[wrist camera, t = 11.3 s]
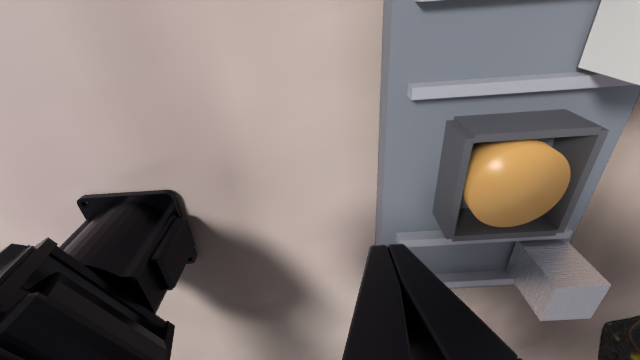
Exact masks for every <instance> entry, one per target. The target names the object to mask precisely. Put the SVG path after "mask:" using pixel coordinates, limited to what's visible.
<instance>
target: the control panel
mask: <svg viewBox="0 0 640 360" xmlns="http://www.w3.org/2000/svg"><path fill="white" fill-rule="evenodd" d="M600 3H601V0H384V7H383V36H382V65H381V93H380V122H379V151H378V179H377V208H376V237H375V245H383V244H384V245H386V246H387V245H389V244H404V245H405V246H406V247H407V248H408V249H409V250H410V251H411V252H412V253H414V254H415V255H416V256H417V257H418V258H419V259H420V260H421V261H422V262H423V263H424V264H425V265H426V266H427V267H428V268H429V269H430V270H431V271H432V272H433V273H434V274H435V275H436V276H437V277H438V278H439V279H440V280H441V281H442V282H443V283H444V284H445V285H446V286H447V287H448V288H449V289H450V288H469V287H487V286H506V285H515V283H514V282H513V280H512V279H511V277H510V276H509V274H508V273H507V271H506V269H507V266H508V263H509V260H510V257H511V254H512V252H513V249H514V246H515V243H516V241H526V240H544V239H561V238H565V239H566V240H567V241H568V242H569V243H570V242H571V239H572V237H573V235H574V233H575V231H576V229H577V227H578V224H579V222H580V220H581V218H582V216H583V214H584V212H585V210H586V207H587V205H588V203H589V201H590V199H591V197H592V195H593V193H594V190H595V188H596V186H597V184H598V182H599V180H600V178H601V175H602V173H603V171H604V169H605V167H606V165H607V163H608V161H609V158H610V156H611V154H612V152H613V150H614V148H615V146H616V143H617V141H618V139H619V137H620V135H621V133H622V131H623V129H624V126H625V124H626V122H627V120H628V118H629V116H630V114H631V112H632V109H633V107H634V105H635V103H636V101H637V99H638V97H639V94H640V85H637V84H633V83H630V82H627V81H623V80H620V79H616V78H613V77H609V76H606V75H603V74H599V73H596V72H592V71H589V70H585V69H582V68H579V67H578V66H579V63H580V60H581V57H582V54H583V51H584V48H585V46H586V43H587V40H588V37H589V34H590V31H591V28H592V26H593V23H594V20H595V17H596V14H597V11H598V8H599V6H600ZM526 139H540V140H542V141H543V142H545V143H546V144H548V145H549V146H551V147H552V148H554V149H555V150H557V151H558V152H560V153H561V154H562V155H563V156H564V157H565V158H566V160H567V161H568V163H569V166H570V181H569V184H568V187H567V189H566V191H565V193H564V195H563V196H562V198H561V199H560V200H559V201H558V203H557V204H556V205H555V206H554V207H552V208H551V209H550V210H549V211H548V212H546V213H545V214H543V215H542V216H540V217H538V218H537V219H535V220H533V221H530V222H528V223H525V224H522V225H518V226H513V227H495V226H490V225H487V224H485V223H483V222H481V221H480V220H478V219H477V218H476V217H475V216H474V214H473V213H472V211H471V210H470V209H469V207H468V206H467V204H466V203H465V201H464V200H463V199H462V195H463V190H464V185H465V180H466V176H467V171H468V166H469V161H470V156H471V151H472V147H473V145H474V144H476V143H480V142H495V141H510V140H526Z"/></svg>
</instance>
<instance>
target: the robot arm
mask: <svg viewBox="0 0 640 360" xmlns="http://www.w3.org/2000/svg"><path fill="white" fill-rule="evenodd" d="M164 196H165V197H168V198H169V199H166V198H165V197H164ZM86 202H87V203H88V204H87V203H86ZM77 205H78V207H79V208H80V210H81V212H82V213H83V215H84V217H85V219H86V221H85V222H84V223H83V224H82V225H81V226H80V227H79V228H78V229H77V230H76V231H75V232H74V233H73V234H72V235H71V236H70V237H69V238H68V239H67V240H66V241H65V242H64V243H63V244H62V245H61V246H60V247H58V246H57V243H55V242H54V241H52V240H51V239H50V238H46V239H45V240H43V241H42V242H40V243H39V244H37V245H36V246H30V245H28V246H24V245H18V244H10V245H9V246H7V247H6V248H5V249H3V250H2V251H1V252H0V360H170V356H171V349H172V342H173V336H174V329H175V326H174V325H173V324H172V323H170V322H169V321H164V320H163V319H161V318H160V317H159V316H157V315H156V312H157V310H158V308H159V306H160V304H161V302H162V300H163V298H164V296H165V294H166V292H167V290H172V289H173V288H174V287H175V286H176V284H177V282H178V280H179V277H180V275H181V273H182V271H183V269H184V267H185V265H186V264H191V263H194V262H195V260H196V258H197V253H196V250H195V248H194V246H195V243H194V241H193V238H192V235H191V233H190V230H189V227H188V224H187V222H186V219H185V218H184V217H183V216H182V213H181V210H180V208H179V205H178V202H177V199H176V197H175V195H174V193H173V192H171V191H169V190H159V191H143V192H127V193H111V194H95V195H84V196H82V197H81V198H80V199H79V200H77ZM342 360H522V359H521V358H518V359H517V354H516V353H515V352H514V351H513V350H512V349H511V348H510V347H509V346H508V345H506V344H505V343H504V342H503V341H502V340H501V339H500V338H499V337H498V336H497V335H496V334H495V333H494V332H493V331H492V330H491V329H490V328H489V327H488V326H487V325H486V324H485V323H484V322H483V321H482V320H481V319H480V318H479V317H478V316H477V315H476V314H475V313H474V312H473V311H472V310H471V309H470V308H469V307H468V306H467V305H466V304H465V303H464V302H463V301H462V300H461V299H459V298H458V297H457V296H456V295H455V294H454V293H453V292H452V291H451V290H450V289H449V288H448V287H447V286H446V285H445V284H444V283H443V282H442V281H441V280H440V279H439V278H438V277H437V276H436V275H435V274H434V273H433V272H432V271H431V270H430V269H429V268H428V267H427V266H426V265H425V264H424V263H423V262H422V261H421V260H420V259H419V258H418V257H417V256H416V255H415V254H414V253H412V252H411V251H410V250H409V249H408V248H407V247H406V246H405V245H404V244H389V245H387V246H386V245H384V244H383V245H372V246H370V249H369V253H368V257H367V261H366V265H365V269H364V273H363V277H362V281H361V285H360V289H359V293H358V297H357V301H356V306H355V310H354V314H353V318H352V322H351V326H350V330H349V334H348V338H347V342H346V346H345V350H344V354H343V358H342Z"/></svg>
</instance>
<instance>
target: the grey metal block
mask: <svg viewBox="0 0 640 360" xmlns="http://www.w3.org/2000/svg"><path fill="white" fill-rule="evenodd" d="M506 271H507V273H508V274H509V276H510V277H511V279H512V280H513V282H514V283H515V285H516V286H517V288H518V289H519V290H520V292H521V293H522V295H523V296H524V298H525V299H526V301H527V302H528V304H529V305H530V307H531V308H532V310H533V311H534V313H535V314H536V315H537V317H538V318H539V320H540V321H553V320H572V319H591V317H592V316H593V314H594V312H595V311H596V309H597V308H598V306H599V304H600V303H601V301H602V300H603V298H604V296H605V295H606V293H607V291H608V290H609V288H610V287H611V284H610V283H609V282H608V281H607V280H606V279H605V278H604V277H603V276H602V275H601V274H600V273H599V272H598V271H597V270H596V269H595V268H594V267H593V266H592V265H591V264H590V263H589V262H588V261H587V260H586V259H585V258H584V257H583V256H582V255H581V254H580V253H579V252H578V251H577V250H576V249H575V248H574V247H573V246H572V245H571V244H570V243H569V242H568V241H567V240H566V239H565V238H561V239H544V240H526V241H516V243H515V246H514V249H513V252H512V254H511V257H510V260H509V263H508V266H507V269H506Z"/></svg>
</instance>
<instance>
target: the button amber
mask: <svg viewBox="0 0 640 360" xmlns="http://www.w3.org/2000/svg"><path fill="white" fill-rule="evenodd" d="M569 181H570V166H569V163H568V161H567V160H566V158H565V157H564V156H563V155H562V154H561V153H560V152H558V151H557V150H555V149H554V148H552V147H551V146H549V145H548V144H546V143H545V142H543V141H542V140H540V139H526V140H510V141H495V142H480V143H476V144H474V145H473V147H472V151H471V156H470V161H469V166H468V171H467V176H466V180H465V185H464V190H463V195H462V199H463V200H464V201H465V203H466V204H467V206H468V207H469V209H470V210H471V211H472V213H473V214H474V216H475V217H476V218H477V219H478V220H480V221H481V222H483V223H485V224H487V225H490V226H495V227H513V226H518V225H522V224H525V223H528V222H530V221H533V220H535V219H537V218H538V217H540V216H542V215H543V214H545V213H546V212H548V211H549V210H550V209H551V208H552V207H554V206H555V205H556V204H557V203H558V201H559V200H560V199H561V198H562V196H563V195H564V193H565V191H566V189H567V187H568V184H569Z"/></svg>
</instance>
